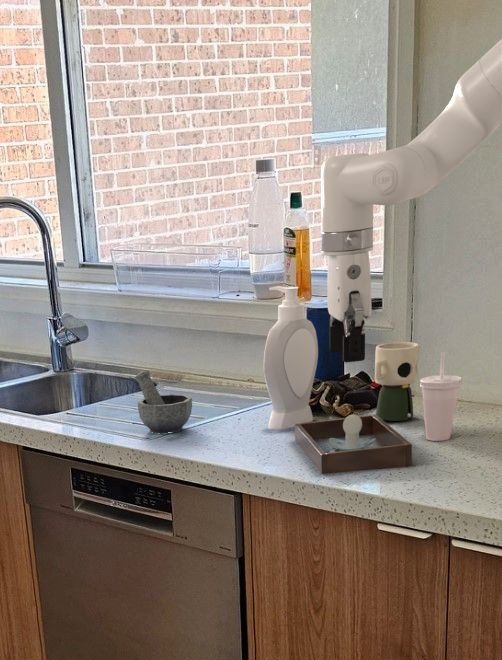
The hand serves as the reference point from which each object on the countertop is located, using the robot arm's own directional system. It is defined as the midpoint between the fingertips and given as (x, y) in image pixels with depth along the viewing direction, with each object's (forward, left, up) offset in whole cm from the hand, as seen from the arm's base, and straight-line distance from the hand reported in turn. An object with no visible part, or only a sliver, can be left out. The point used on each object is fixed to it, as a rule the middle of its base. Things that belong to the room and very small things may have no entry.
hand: (346, 355), depth 192 cm
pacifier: (0, 0, -16) cm, 16 cm away
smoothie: (-15, -4, -16) cm, 23 cm away
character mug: (-12, -20, -16) cm, 28 cm away
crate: (0, 0, -16) cm, 16 cm away
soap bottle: (+6, -25, -16) cm, 30 cm away
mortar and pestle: (+28, -28, -16) cm, 42 cm away
